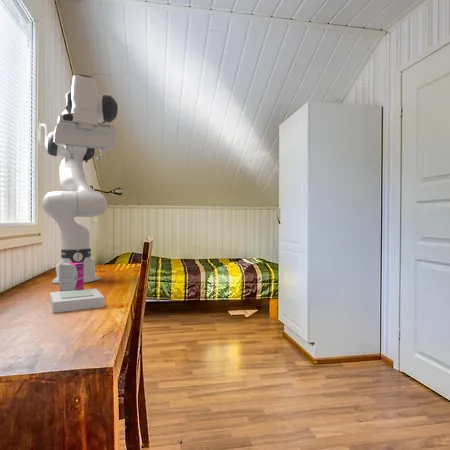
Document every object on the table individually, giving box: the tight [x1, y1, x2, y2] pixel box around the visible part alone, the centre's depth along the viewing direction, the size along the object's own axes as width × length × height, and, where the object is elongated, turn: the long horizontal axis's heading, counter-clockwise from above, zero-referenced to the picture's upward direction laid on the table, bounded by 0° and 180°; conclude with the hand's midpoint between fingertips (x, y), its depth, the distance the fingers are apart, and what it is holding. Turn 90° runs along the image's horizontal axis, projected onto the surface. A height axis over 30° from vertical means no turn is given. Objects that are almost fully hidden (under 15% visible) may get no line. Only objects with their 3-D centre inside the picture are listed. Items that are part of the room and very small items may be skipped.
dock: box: [49, 288, 105, 314], centre depth 111 cm, size 17×14×3 cm
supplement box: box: [58, 263, 84, 292], centre depth 122 cm, size 6×6×12 cm
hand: (85, 159), depth 126 cm, fingers open, 8 cm apart
